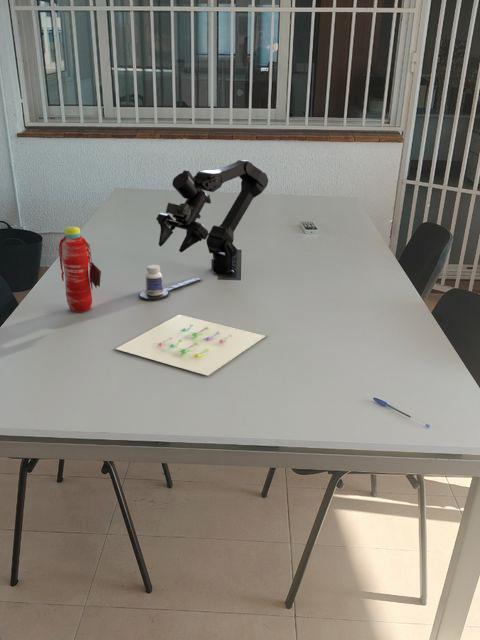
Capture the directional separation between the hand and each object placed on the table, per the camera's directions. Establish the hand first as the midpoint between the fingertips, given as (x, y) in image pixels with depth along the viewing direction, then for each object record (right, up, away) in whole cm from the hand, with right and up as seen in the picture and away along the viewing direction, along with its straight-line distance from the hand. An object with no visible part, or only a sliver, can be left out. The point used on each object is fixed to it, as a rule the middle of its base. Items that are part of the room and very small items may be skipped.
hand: (169, 248), depth 225 cm
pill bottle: (-5, -14, +1) cm, 15 cm away
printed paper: (+9, -34, -31) cm, 47 cm away
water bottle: (-25, -21, -9) cm, 34 cm away
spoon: (0, -12, +7) cm, 14 cm away
